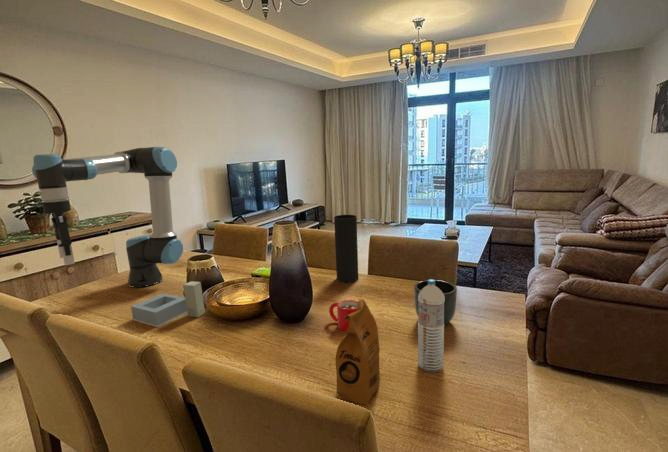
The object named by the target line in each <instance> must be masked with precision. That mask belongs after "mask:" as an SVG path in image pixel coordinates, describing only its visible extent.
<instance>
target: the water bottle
mask: <svg viewBox="0 0 668 452" xmlns="http://www.w3.org/2000/svg"><path fill="white" fill-rule="evenodd" d="M427 280H428V285H427V286H425V287H424V288H423V289H422V290H421V291H420V292H419V294H418V301H419V311H418V315H417V316H418V321H417V364H418V367H419V368H420V369H421V371H423V372H427V373H433V374H434V373H440V372H441V371H442V370H443V368H444V361H445V360H444V356H445V354H444V353H445V352H444V351H445V350H444V349H445V326H444V302H445V296H444V294H443V292H442V291H441V290H440V289H439V288H438V287H436V286H435V280H436V279H432V278H431V279H430V278H429V279H427Z"/></svg>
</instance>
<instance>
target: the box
mask: <svg viewBox="0 0 668 452" xmlns="http://www.w3.org/2000/svg"><path fill="white" fill-rule="evenodd" d="M182 288H183V294H184V298H185V301H186V307H187V313H186V314H187V317H189V318H190V317H192V318H199V317H201V316H202V315H204V314H205V313H206V309H205V303H204V296H203V289H202V284H201V281H193V280H192V281H189V282H186V283H184V284H183V285H182Z"/></svg>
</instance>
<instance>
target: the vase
mask: <svg viewBox="0 0 668 452" xmlns="http://www.w3.org/2000/svg"><path fill="white" fill-rule="evenodd" d="M333 219H334V220H333V221H334V222H333V223H334V244H335V245H334V247H335V265H336V266H335V269H336V270H335V271H336V280H338V282H339V281H340V282H339V283H342V282H344V283H343V284H351V282H352V283H355V281H356V282H358V280H359V256H358V255H359V254H358V225H357V223H358V222H357V219H358V218H357V215H355V214H339V215H335V216H334V217H333Z"/></svg>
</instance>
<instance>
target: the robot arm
mask: <svg viewBox="0 0 668 452" xmlns="http://www.w3.org/2000/svg"><path fill="white" fill-rule="evenodd" d="M32 160H33V165H32V168H31V172H32V175H33V177H34V178H35V179H36V181H37V186H38V190H39V191H38V192H37V195H40V199H41V201H43V202H42V203H41V207H42V210H43V214H51V218H50V220H51V222H52V225H53V228H54V234H55V238H56V239H55V240H56V243H57V249H58V254H59V259H60V258H63V262H64V266H69V265H70V266H71V265H75V264H76V262H75V257H74V252H73V247H72V240H71V236H70V232H69V224H68V219H67V216H66V215H64V214H63V213H66V212H69V211H71V209H72V208H71V203H70V200H68V199H69V197H70V196H69V192H68V187H67V182H76V181H78V182H79V181H88V180H94V179H95V178H96V177H97V176H98V175H104V174H105V175H106V174H111V173H113V174H114V173H119V174H128V173H129V174H130V173H132V174H133V173H135V174H144V176H143V177H144V178H145V179H146V180H147V181H148V188H149V201H150V212H151V213H150V215H151V224H152V233H151V234H145V235H140V236H134V237H131V238H129V239H127V240H126V243H125V244H126V245H125V246H126V248H125V250H126V255H127V259H128V260H127V261H128V266H129V273H128V279H127V286H128V285H130V286H134V287H139V286H146V285H151V284H154V283H156V282H159V281H160V280H162V279H163V275H162V273H161V271H160V269H159V267H158V264H163V265H169V264H171V265H172V264H176V263H177V262H178V261H179V260H180V259H181V257H182V255H183V253H184V244H183V242H182V240H180V239H179V238H178V234H177V233H176V232H174V228H173V215H172V203H171V201H172V200H171V187H170V180H171V179H172V178H173V172H175V171H176V170H177V167H178V160H177V156H176V155H175V153H174V152H173V151H172V150H171V149H170V148H168V147H166V146H154V147H153V146H151V147H150V146H149V147H138V148H137V147H136V148H132V149H128V150H122V151H115V152H114V153H113V154H103V155H96V156H95V155H94V156H86V157H85V156H84V157H75V158H64V159H63V158H62V157H61V155H60V154H57V153H54V154H53V153H50V154H35V155H34V156H33V159H32ZM162 281H163V280H162ZM159 283H160V282H159ZM151 286H152V285H151Z"/></svg>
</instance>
